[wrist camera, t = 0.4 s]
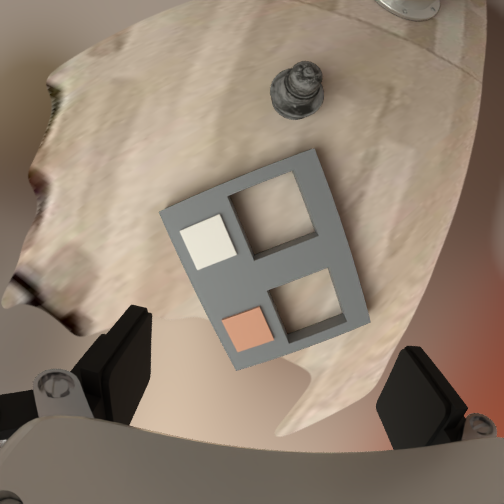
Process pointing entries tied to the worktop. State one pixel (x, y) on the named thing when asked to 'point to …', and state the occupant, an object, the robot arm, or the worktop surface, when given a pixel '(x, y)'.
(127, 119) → the worktop surface
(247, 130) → the worktop surface
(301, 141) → the worktop surface
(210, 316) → the socket board
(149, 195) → the worktop surface
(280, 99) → the salt shaker
